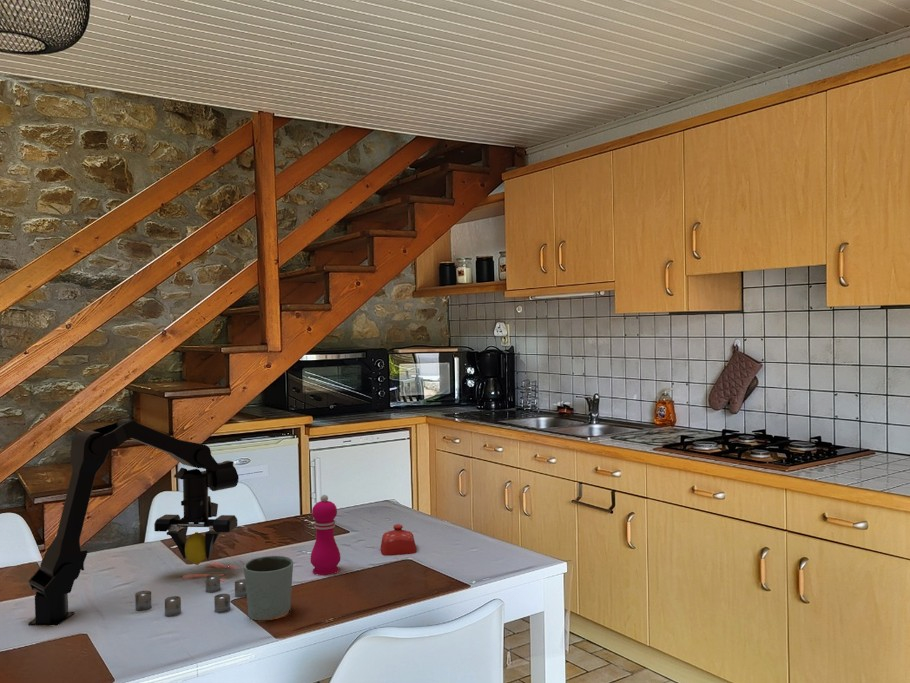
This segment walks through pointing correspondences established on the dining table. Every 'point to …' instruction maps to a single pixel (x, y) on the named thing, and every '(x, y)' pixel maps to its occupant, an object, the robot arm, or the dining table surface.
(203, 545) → the lemon
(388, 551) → the butter dish
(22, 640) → the dining table surface
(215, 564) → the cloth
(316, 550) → the pepper mill
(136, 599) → the spacers
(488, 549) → the dining table surface
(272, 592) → the grey ceramic cup
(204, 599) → the dining table surface
